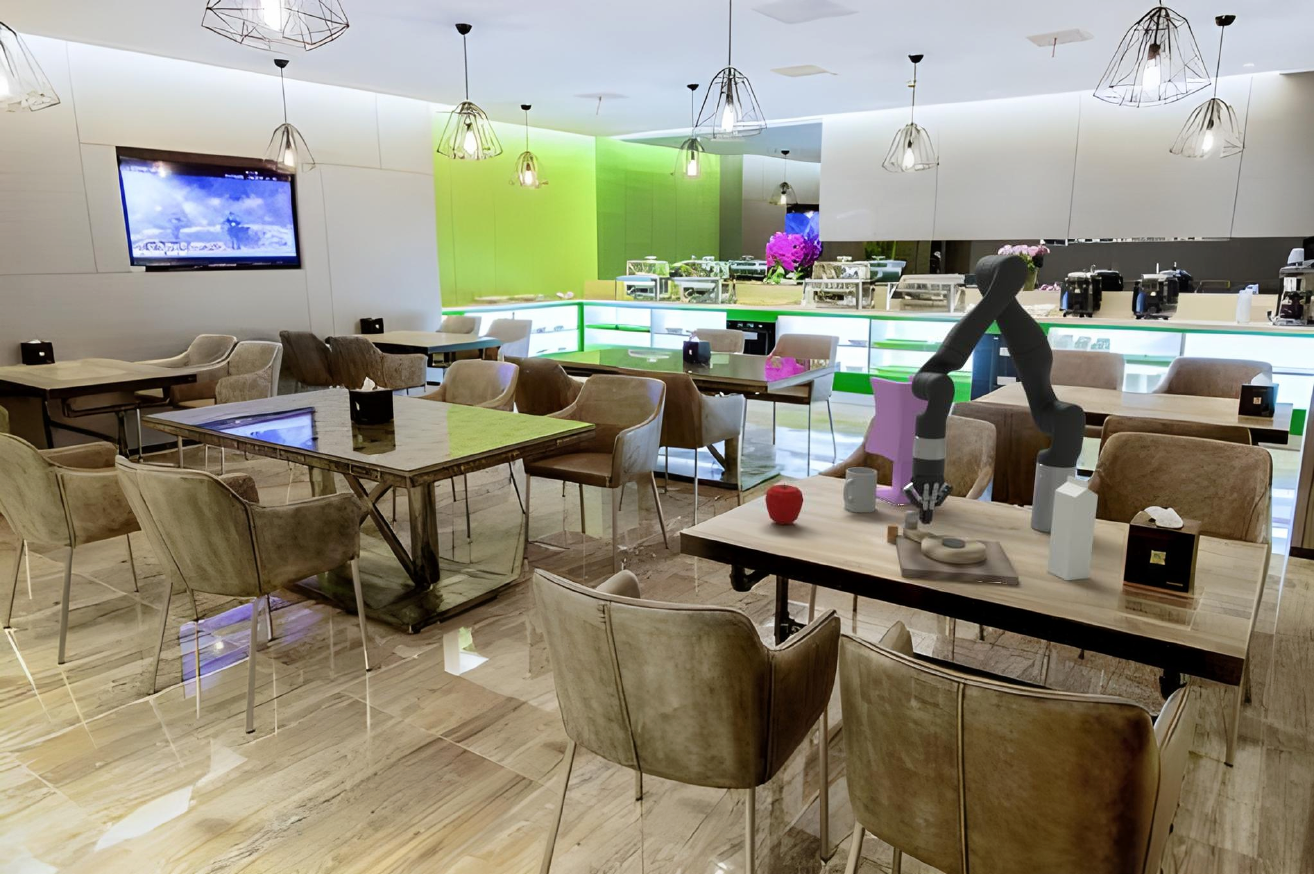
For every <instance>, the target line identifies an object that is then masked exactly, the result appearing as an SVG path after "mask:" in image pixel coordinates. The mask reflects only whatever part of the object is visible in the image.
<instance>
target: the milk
mask: <svg viewBox="0 0 1314 874" xmlns="http://www.w3.org/2000/svg"><path fill="white" fill-rule="evenodd" d="M1098 497H1099V495H1098V494H1097V493H1096V492H1094V491H1092V490H1091V489H1089V481H1087V480H1084V479H1081V478H1078V477H1076V476H1075V477H1072V476H1068V477H1067V482H1066V483H1065V484H1063V485H1062V486H1061V487H1059V488H1058V489H1056V490H1055V499H1054V509H1053V519H1052V528H1051V533H1050V540H1049V550H1048V558H1047V559H1048V560H1047V569H1046V571H1047V572H1048V573H1050V574H1052V575H1054V576H1056V577H1058V578H1060V579H1062V580H1064V581H1075V580H1083V579H1089V577H1090V568H1091V558H1092V549H1093V542H1094V534H1095V533H1094V532H1095V526H1096V525H1095V524H1096V517H1097V516H1096V514H1097V506H1098Z"/></svg>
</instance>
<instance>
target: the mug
mask: <svg viewBox="0 0 1314 874" xmlns="http://www.w3.org/2000/svg"><path fill="white" fill-rule="evenodd" d="M877 483H878V471H877V470H876V469H875V468H874V469H873V468H870V467H861V466H857V467H855V466H854V467H849V468H847V469H846V470H845V483H844V485H843V493H842V495H843V501H844V503H843V505H844V507H845V508H844V510H846V509H847V510H846V511H848V510H849V512H851V511H854V512H853V513H857V512H869V513H873V512H875V511H876V505H877V503H876V502H877V498H876V489H877ZM872 511H873V512H872Z"/></svg>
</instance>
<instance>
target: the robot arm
mask: <svg viewBox="0 0 1314 874" xmlns="http://www.w3.org/2000/svg"><path fill="white" fill-rule="evenodd" d="M1029 269H1030V268H1029V265H1028V263H1027V261H1026V259H1025V258H1023V257H1022V256H1020V255H1017V254H992V255H987V256H986V255H985V256H983V257H981V258H980V259H979V260H978V262H977V263H976V265H975V267H974V281H975V284H976V287H977V289H978V291H979V293H980V295H981V297H982V298H981V300H979V302H978V303H976V305H975V306H974V307H973V308H971V310H970V311H969V312H967V313H966V314H965V315H963V317H961V318H960V320H958V321H957V323H955V324H954V325H953V327H952V328H951V329H949V331H948V333H947V334H946V336H945V338H944V340H943V341H942V343H941V344H940V346H939V348H938V349H937V350H936V352H935V353H934V354H933V355H932V356H931V357H930V358H929V359H928V360H927V361H926V362H924V364H923V365H922V366H921V367H920V368H919V369H918V371H917V372H915V374H914V375H915V376H914V378H913V381H912V386H911V388H912V393H913V394H914V396H915V397H917V398H919V399H921V400H925V401H928V405H927V408H926V411H922V412H919V413H918V414H917V416H916V423H915V439H914V444H913V460H912V478H911V480H910V484H909V485H907V486H906V487H902V488H901V490H902V492H903V493H904V494H905V496H906V497H907V498H908V500H909V501H910V502H911V504H910V505H912V506H913V507H915V508H917V509H919V512H918V521H920V522H921V524H923V525H930V524H931V522H932V521H933V518H934V517H933V514H934V513H933V512H934V509H935V508H937V507H938V508H939V507H940V506H942V504H943V503H944V501H945V500H946V499H947V498H948V496H949V495H950V494H951V493H952V491H954V487H953V486H952V485H950V484H948V483H947V482H946V478H945V476H944V474H945V471H946V470H945V469H946V468H945V467H946V455H947V443H946V437H947V436H946V435H947V419H948V417H949V414H950V412H951V408H952V405H953V402H954V399H955V394H956V388H955V382H954V380H953V379H952V377H951V376H949V375H948V374H949V373H951V372H957V371H959V370H961V369H962V368H964V366H965V365H966V363H967V362H968V360H969V359H970V357H971V356H972V353H973V352H974V350H975V349H976V347H977V345H978V344H979V342H980V341H981V339H982V338H983V336H984V335H985V333H986V332H987V331H988V330H989V328H990V327H991V326H992V325H993V324H994V322H995V323H996V325H997V327H998V330H999V332H1000V334H1001V337H1002V339H1003V341H1004V344H1005V347H1006V350H1007V353H1008V354H1009V356H1010V360H1011V361H1012V364H1013V366H1014V368H1015V370H1016V372H1017V375H1018V377H1019V380H1020V383H1021V385H1022V387H1023V391H1024V393H1025V395H1026V398H1027V403H1028V406H1029V411H1030V413H1031V418H1032V420H1033V423H1034V425H1035V427H1036V429H1037V430H1038V431H1039V432H1040V433H1042V434H1044V435H1045V436H1049V437H1052V439H1051V440H1052V441H1051V443H1050V444H1051V445H1050V447H1049V448H1045V449H1042V450H1041V449H1040V450H1039V451H1038V453H1037V455H1036V456H1037V457H1036V467H1035V479H1034V485H1033V486H1034V488H1033V499H1032V508H1031V518H1030V527H1031V528H1032V529H1034V530H1036V531H1039V532H1044V533H1050V534H1051V528H1052V519H1053V509H1054V499H1055V490H1056V489H1058V488H1059V487H1061V486H1062V485H1063V484H1065V483H1066V482H1067V477H1068V476H1072V477H1075V478H1076V472H1077V464H1078V460H1079V458H1080V456H1081V453H1082V449H1083V443H1084V438H1085V431H1086V423H1087V420H1086V419H1087V418H1086V414H1085V413H1086V412H1085V411H1084V409H1083V408H1082V407H1081V406H1080V405H1078V404H1075V403H1071V402H1067V401H1062V400H1060V399H1059V398H1058V396H1057V395H1056V393H1055V391H1054V389H1053V386H1052V383H1051V371H1052V368H1053V363H1054V362H1053V361H1054V357H1053V355H1054V354H1053V351H1052V348H1051V345H1050V343H1049V341H1048V338H1047V335H1046V333H1045V331H1044V329H1043V328H1042V326H1041V325H1040V324H1039V323H1038V322H1037V321H1036V319H1034V317H1033V316H1032V315H1031V314H1029V312H1028V311H1027V310H1025V308H1024V307H1023V306H1022V304H1020V302H1019V301H1018V299H1017V296H1018V294H1019V293H1020V291H1022V289H1023V288H1024V287H1025V285H1026V283H1027V281H1028V278H1029V273H1030V271H1029ZM913 489H915V491H916V492H917V497H918V500H917V499H916V497H915V496H914V495H913V493H914V490H913Z"/></svg>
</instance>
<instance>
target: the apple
mask: <svg viewBox="0 0 1314 874" xmlns="http://www.w3.org/2000/svg"><path fill="white" fill-rule="evenodd" d="M764 500H765V505H766V510H767V513H768V515H769V518H770V519H771V521H773V522H774V523H775V524H777V525H790V524H792V523H794V522H795V521H796V520H798V518H799V515H800V513H801V511H802V507H803V503H804V497H803V492H802V491H801V490H800V489H799V487H797V486H793V485H789V484H785V483H784V484H776V485H772V486H770V487H769V488H768V489H767V490H766V494H765V499H764Z"/></svg>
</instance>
